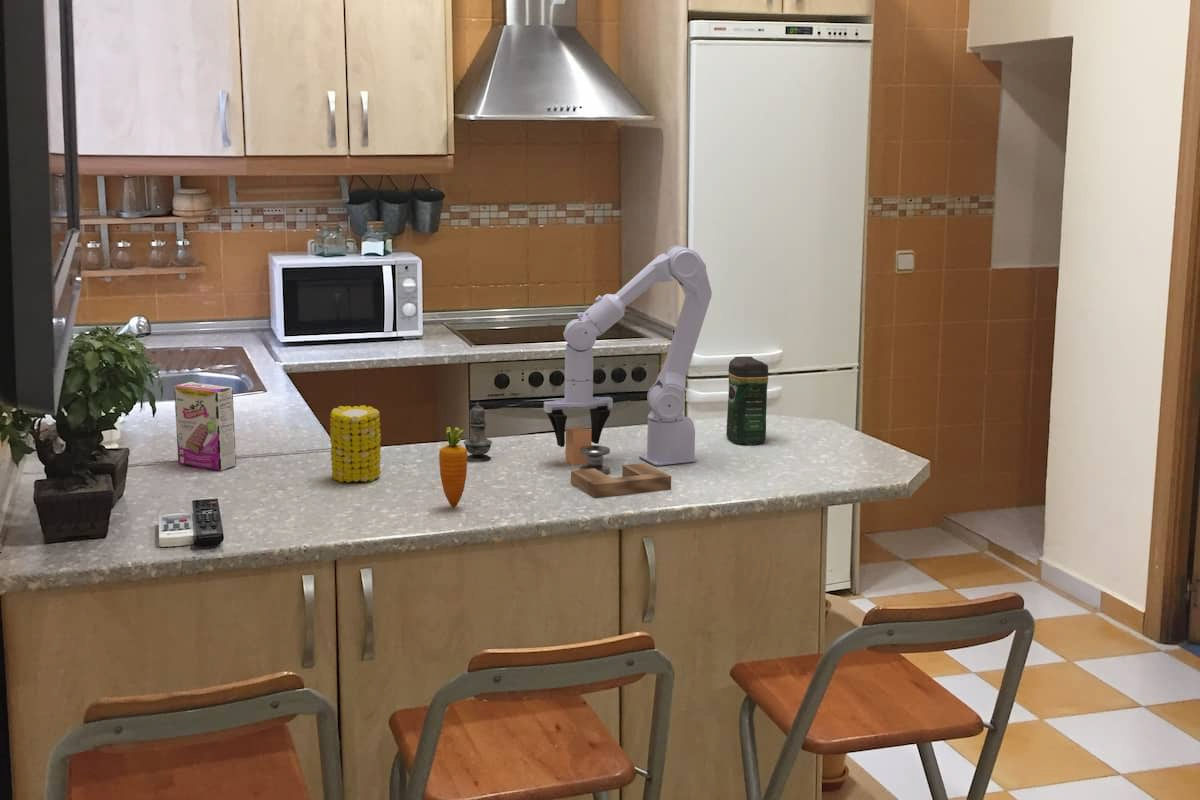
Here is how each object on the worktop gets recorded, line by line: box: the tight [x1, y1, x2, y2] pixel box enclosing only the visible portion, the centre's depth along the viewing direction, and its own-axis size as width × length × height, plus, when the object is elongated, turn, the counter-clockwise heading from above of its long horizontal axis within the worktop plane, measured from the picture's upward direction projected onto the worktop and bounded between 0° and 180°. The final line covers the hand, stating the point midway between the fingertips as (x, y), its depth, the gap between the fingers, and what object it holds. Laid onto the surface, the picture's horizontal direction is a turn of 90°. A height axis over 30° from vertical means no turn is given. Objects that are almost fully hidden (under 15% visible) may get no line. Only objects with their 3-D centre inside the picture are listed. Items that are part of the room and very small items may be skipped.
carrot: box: [438, 426, 468, 509], centre depth 234 cm, size 5×5×15 cm
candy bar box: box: [173, 381, 237, 472], centre depth 261 cm, size 11×5×16 cm, turn 65°
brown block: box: [565, 425, 592, 466], centre depth 268 cm, size 4×4×7 cm
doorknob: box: [579, 444, 611, 475], centre depth 262 cm, size 6×6×5 cm
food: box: [329, 405, 382, 483], centre depth 253 cm, size 15×12×10 cm
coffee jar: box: [725, 356, 769, 446], centre depth 288 cm, size 10×8×19 cm
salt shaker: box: [463, 401, 493, 463], centre depth 270 cm, size 6×6×12 cm
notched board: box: [570, 462, 672, 499], centre depth 251 cm, size 16×11×2 cm
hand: (578, 444), depth 268 cm, fingers open, 7 cm apart
